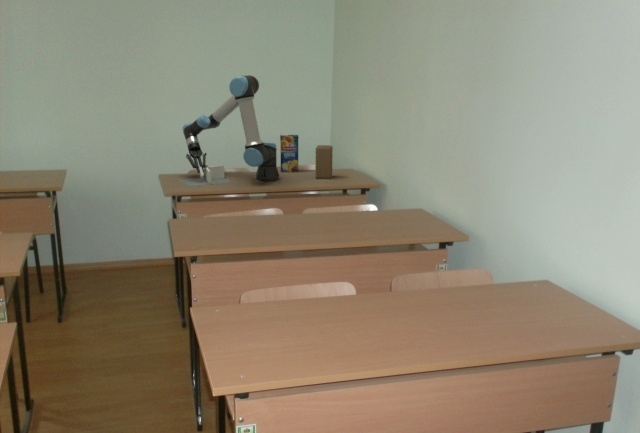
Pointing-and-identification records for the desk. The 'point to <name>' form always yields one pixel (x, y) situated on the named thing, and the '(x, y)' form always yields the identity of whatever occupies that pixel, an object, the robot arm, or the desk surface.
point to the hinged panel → (208, 175)
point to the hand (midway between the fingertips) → (202, 176)
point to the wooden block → (324, 161)
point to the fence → (215, 172)
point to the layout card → (203, 181)
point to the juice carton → (289, 153)
